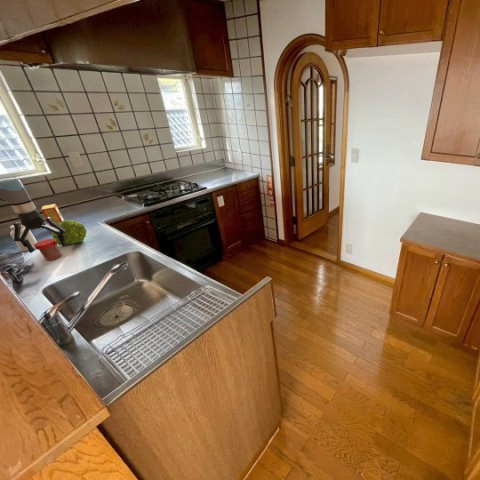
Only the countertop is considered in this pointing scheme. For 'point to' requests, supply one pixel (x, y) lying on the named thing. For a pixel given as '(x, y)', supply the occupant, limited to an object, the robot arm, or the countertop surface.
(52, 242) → the cap
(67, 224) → the lettuce
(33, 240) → the pill bottle
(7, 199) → the robot arm
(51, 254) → the jar
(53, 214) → the baking soda box
